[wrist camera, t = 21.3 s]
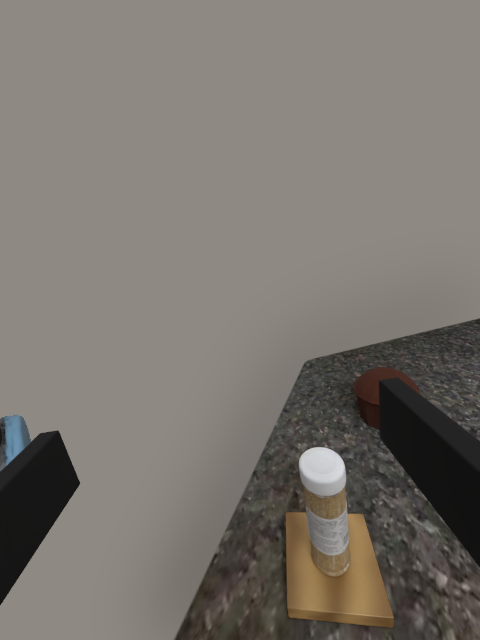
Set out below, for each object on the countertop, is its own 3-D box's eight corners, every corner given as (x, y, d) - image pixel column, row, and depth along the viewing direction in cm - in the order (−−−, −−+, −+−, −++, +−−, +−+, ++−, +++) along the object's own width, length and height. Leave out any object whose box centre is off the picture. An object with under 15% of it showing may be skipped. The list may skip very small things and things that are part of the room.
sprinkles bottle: (322, 526, 33) (313, 439, 30) (358, 553, 30) (353, 458, 27) (302, 557, 31) (289, 464, 27) (339, 590, 27) (330, 490, 24)
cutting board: (288, 617, 27) (287, 608, 27) (286, 519, 36) (285, 511, 36) (394, 628, 25) (394, 618, 25) (363, 522, 35) (362, 513, 34)
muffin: (371, 394, 60) (369, 355, 58) (428, 413, 52) (429, 367, 49) (343, 421, 53) (341, 377, 51) (404, 447, 45) (404, 396, 42)
